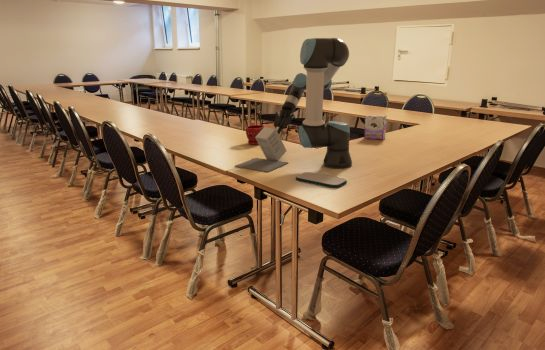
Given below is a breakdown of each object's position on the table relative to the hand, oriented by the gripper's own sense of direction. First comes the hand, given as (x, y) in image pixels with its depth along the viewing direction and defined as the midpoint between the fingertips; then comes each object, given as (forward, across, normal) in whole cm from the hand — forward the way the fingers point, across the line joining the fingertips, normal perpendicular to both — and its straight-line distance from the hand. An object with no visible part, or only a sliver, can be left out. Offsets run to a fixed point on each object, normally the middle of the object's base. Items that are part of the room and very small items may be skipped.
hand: (274, 137), depth 219 cm
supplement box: (+7, -2, -8) cm, 11 cm away
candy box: (-49, -30, -66) cm, 88 cm away
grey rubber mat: (+20, -2, +2) cm, 20 cm away
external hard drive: (+26, -43, +8) cm, 51 cm away
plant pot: (-10, +35, -29) cm, 47 cm away
